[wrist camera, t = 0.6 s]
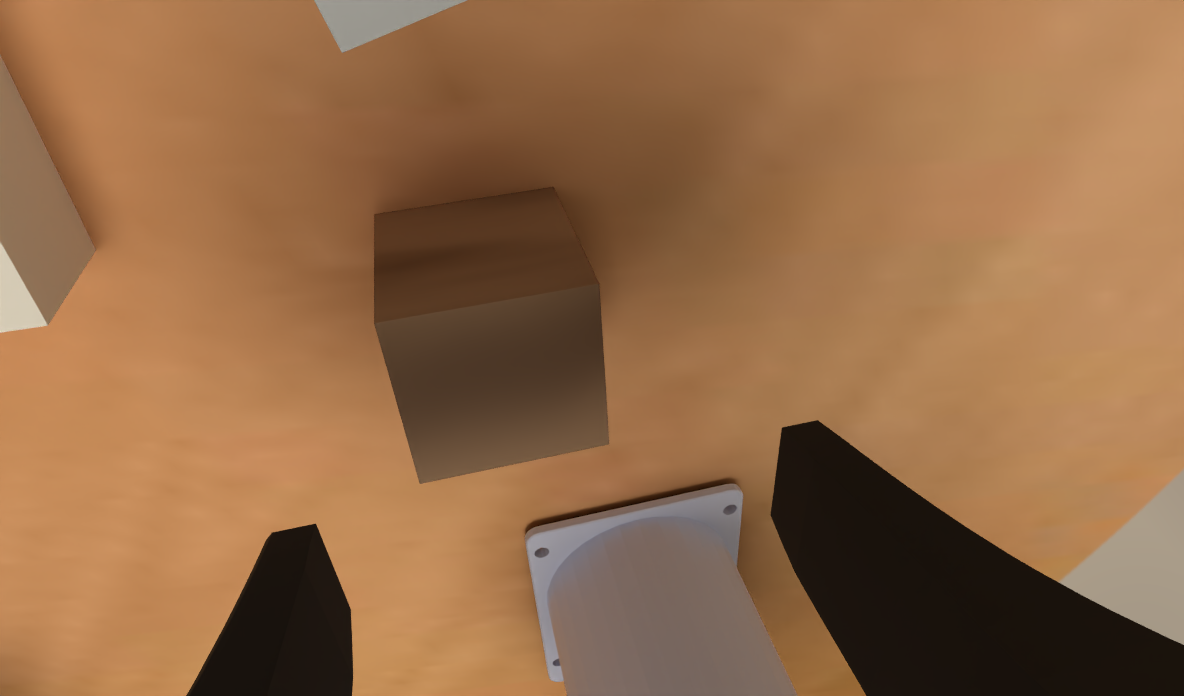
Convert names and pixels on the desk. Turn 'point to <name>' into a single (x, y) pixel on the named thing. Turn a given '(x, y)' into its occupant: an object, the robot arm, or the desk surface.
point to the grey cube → (374, 17)
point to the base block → (33, 222)
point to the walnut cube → (490, 332)
